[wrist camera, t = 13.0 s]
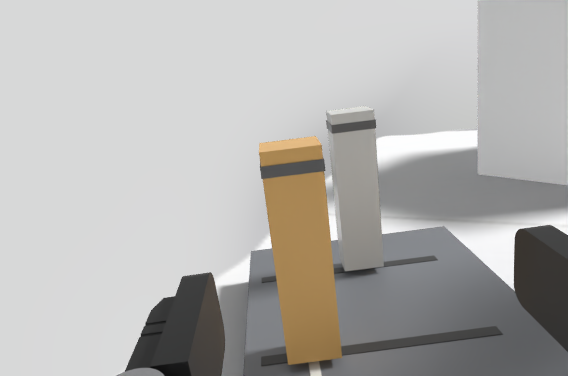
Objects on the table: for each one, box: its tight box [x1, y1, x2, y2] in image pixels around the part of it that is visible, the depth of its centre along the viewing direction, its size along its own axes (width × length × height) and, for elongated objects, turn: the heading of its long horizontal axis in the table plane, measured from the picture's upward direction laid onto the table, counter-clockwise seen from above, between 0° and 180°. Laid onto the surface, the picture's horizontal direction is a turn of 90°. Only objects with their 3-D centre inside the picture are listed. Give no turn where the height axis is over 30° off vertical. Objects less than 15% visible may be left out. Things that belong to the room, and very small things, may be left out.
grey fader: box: [326, 106, 384, 271], centre depth 34 cm, size 3×3×12 cm
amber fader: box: [259, 136, 342, 365], centre depth 24 cm, size 3×3×12 cm
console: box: [244, 227, 568, 376], centre depth 31 cm, size 18×22×3 cm
